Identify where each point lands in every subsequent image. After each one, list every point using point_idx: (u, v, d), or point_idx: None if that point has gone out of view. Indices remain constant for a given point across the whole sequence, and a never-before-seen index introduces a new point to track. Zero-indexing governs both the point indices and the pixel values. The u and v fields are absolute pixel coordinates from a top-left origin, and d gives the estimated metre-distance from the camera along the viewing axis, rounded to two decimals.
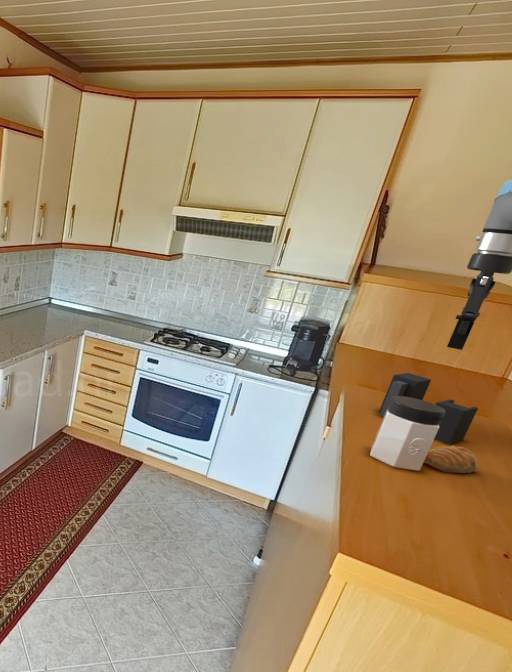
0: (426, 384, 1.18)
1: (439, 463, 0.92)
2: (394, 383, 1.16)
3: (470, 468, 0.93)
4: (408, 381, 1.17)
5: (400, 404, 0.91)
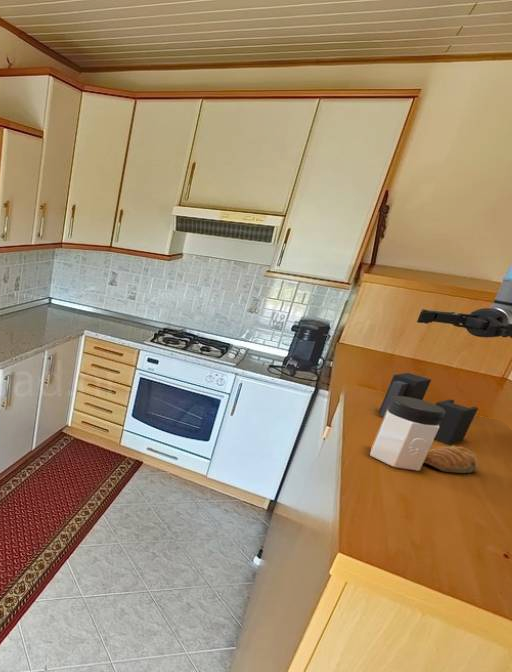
0: (426, 384, 1.18)
1: (439, 463, 0.92)
2: (394, 383, 1.16)
3: (471, 468, 0.93)
4: (408, 381, 1.17)
5: (400, 404, 0.91)
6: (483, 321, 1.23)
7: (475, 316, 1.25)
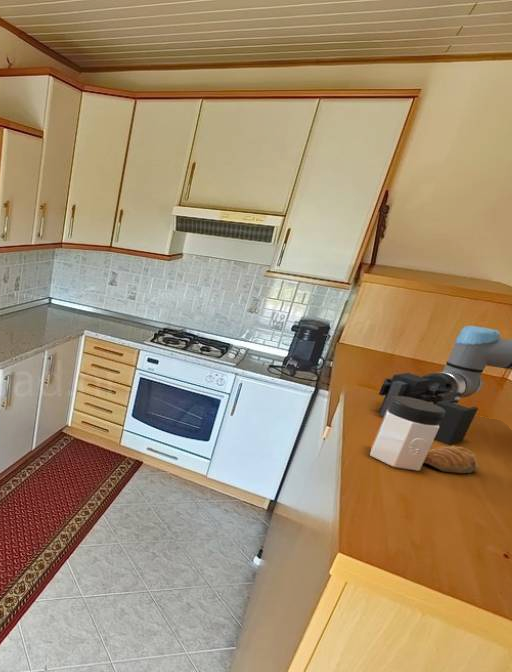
0: (426, 384, 1.18)
1: (439, 463, 0.92)
2: (394, 383, 1.16)
3: (471, 468, 0.93)
4: (408, 381, 1.17)
5: (400, 404, 0.91)
6: None
7: None
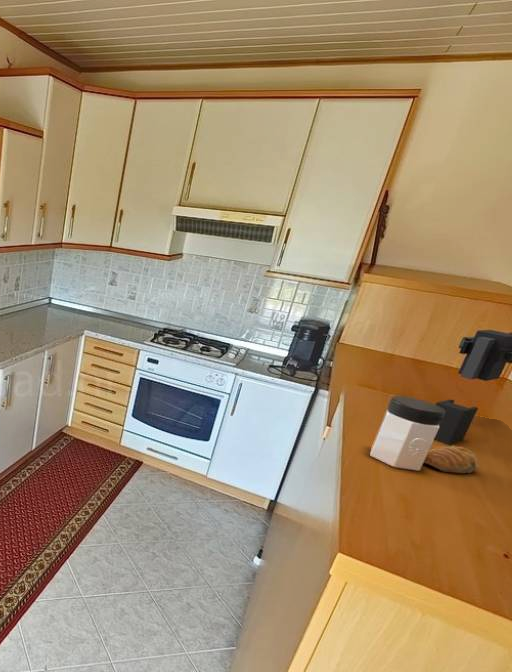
0: None
1: (439, 463, 0.92)
2: (480, 339, 1.04)
3: (471, 469, 0.93)
4: (495, 336, 1.04)
5: (400, 404, 0.91)
6: None
7: None
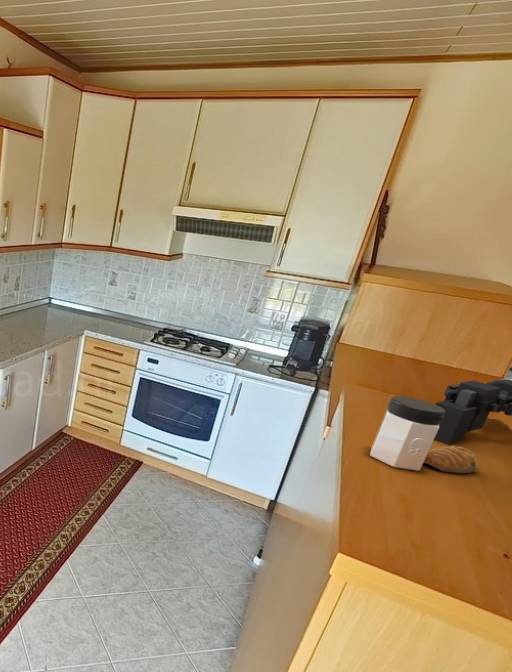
0: (496, 392, 1.09)
1: (439, 463, 0.92)
2: (462, 392, 1.08)
3: (471, 469, 0.93)
4: (477, 389, 1.08)
5: (400, 404, 0.91)
6: None
7: None
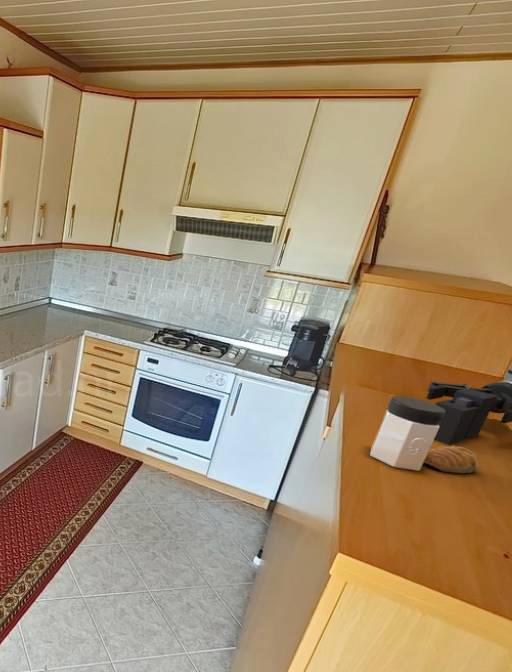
0: (491, 401, 1.10)
1: (439, 463, 0.92)
2: (458, 400, 1.08)
3: (471, 469, 0.93)
4: (473, 398, 1.08)
5: (400, 404, 0.91)
6: (498, 399, 1.14)
7: (489, 392, 1.17)
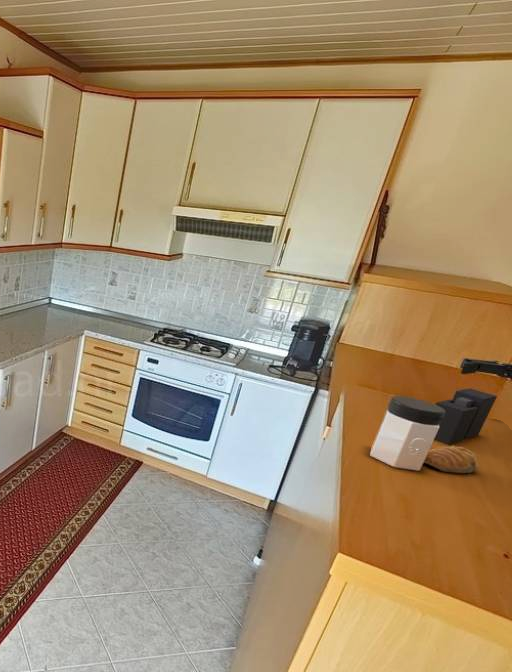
0: (491, 401, 1.10)
1: (439, 463, 0.92)
2: (458, 400, 1.08)
3: (471, 469, 0.93)
4: (473, 398, 1.08)
5: (400, 404, 0.91)
6: None
7: None
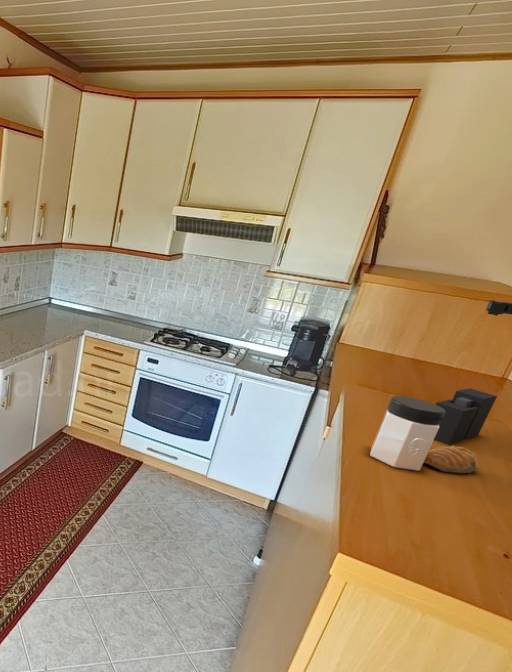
0: (491, 401, 1.10)
1: (439, 463, 0.92)
2: (458, 400, 1.08)
3: (471, 469, 0.93)
4: (473, 397, 1.08)
5: (400, 404, 0.91)
6: None
7: None
